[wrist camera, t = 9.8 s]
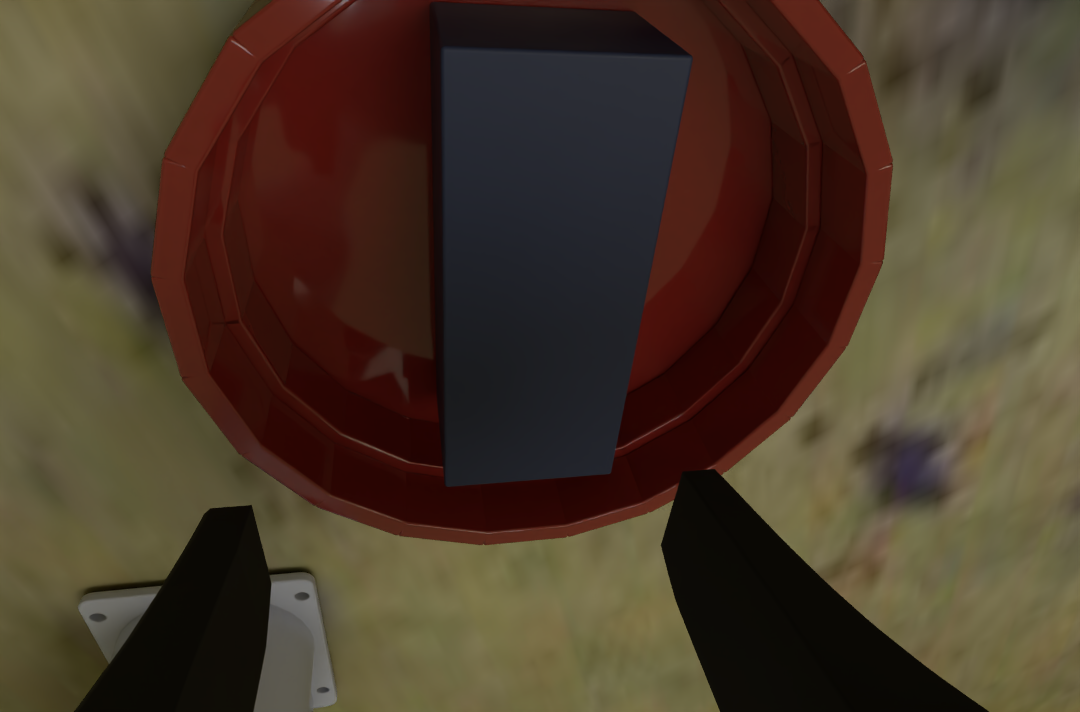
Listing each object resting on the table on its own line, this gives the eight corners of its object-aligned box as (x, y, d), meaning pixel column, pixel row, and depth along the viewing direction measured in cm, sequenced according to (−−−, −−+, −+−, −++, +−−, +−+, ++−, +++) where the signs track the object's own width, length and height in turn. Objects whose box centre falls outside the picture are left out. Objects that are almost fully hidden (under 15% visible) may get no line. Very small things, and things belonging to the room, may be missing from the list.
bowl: (720, 421, 25) (775, 518, 22) (261, 451, 22) (238, 570, 19) (883, -96, 16) (1027, -72, 12) (118, -162, 13) (16, -155, 9)
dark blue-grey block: (581, 387, 22) (611, 474, 19) (436, 395, 21) (444, 488, 18) (636, 11, 16) (695, 55, 13) (429, 0, 15) (440, 46, 12)
